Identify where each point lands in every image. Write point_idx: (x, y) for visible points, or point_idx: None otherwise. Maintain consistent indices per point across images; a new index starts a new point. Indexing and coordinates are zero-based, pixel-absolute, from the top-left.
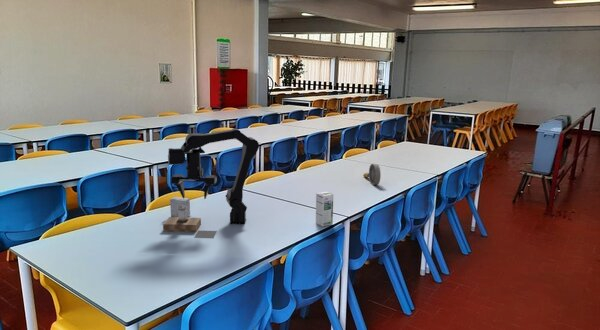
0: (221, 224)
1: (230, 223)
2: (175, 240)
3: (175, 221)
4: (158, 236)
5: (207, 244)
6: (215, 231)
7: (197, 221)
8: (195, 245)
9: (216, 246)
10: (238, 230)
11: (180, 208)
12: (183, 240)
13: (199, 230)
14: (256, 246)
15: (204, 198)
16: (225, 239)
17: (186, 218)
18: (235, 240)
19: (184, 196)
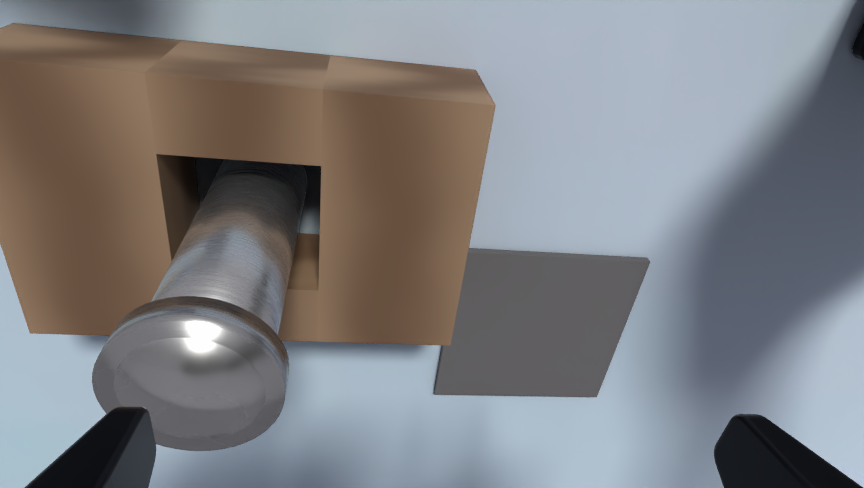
0: (738, 44)
1: (857, 51)
2: (284, 424)
3: (154, 249)
4: (88, 364)
5: (543, 465)
6: (632, 274)
7: (457, 246)
8: (458, 480)
9: (602, 484)
10: (859, 227)
11: (196, 443)
12: (352, 422)
13: (471, 252)
14: (855, 472)
15: (720, 474)
16: (686, 396)
17: (276, 132)
18: (755, 407)
19: (132, 457)
